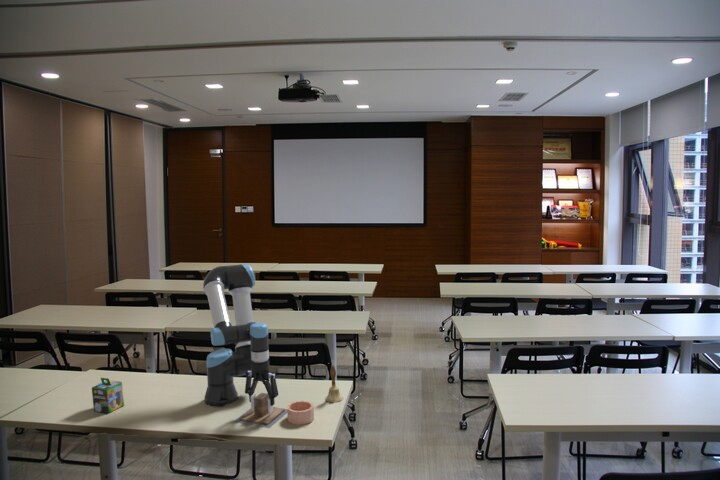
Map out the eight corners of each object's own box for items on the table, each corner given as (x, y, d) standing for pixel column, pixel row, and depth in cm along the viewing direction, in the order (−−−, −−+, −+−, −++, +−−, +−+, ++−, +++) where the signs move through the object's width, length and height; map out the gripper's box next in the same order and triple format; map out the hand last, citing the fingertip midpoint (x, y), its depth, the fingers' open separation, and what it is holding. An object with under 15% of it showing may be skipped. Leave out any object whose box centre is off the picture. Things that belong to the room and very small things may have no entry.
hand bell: (328, 404, 226) (328, 370, 225) (322, 397, 234) (322, 364, 232) (345, 400, 230) (345, 367, 228) (339, 394, 237) (338, 361, 236)
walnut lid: (239, 420, 211) (238, 400, 210) (257, 406, 224) (256, 387, 223) (267, 425, 206) (267, 404, 205) (284, 411, 219) (284, 391, 218)
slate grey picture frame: (232, 422, 210) (232, 421, 209) (256, 405, 226) (256, 404, 226) (269, 429, 203) (269, 428, 203) (290, 411, 220) (290, 409, 220)
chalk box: (124, 405, 229) (122, 374, 228) (108, 414, 221) (106, 382, 219) (109, 403, 232) (106, 372, 231) (92, 411, 224) (90, 379, 222)
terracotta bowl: (282, 423, 208) (282, 409, 208) (295, 412, 218) (294, 399, 218) (306, 427, 204) (306, 413, 204) (317, 416, 215) (317, 402, 214)
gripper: (234, 360, 212) (236, 411, 215) (276, 365, 205) (278, 418, 207) (244, 354, 219) (246, 404, 222) (285, 359, 212) (287, 410, 214)
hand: (262, 410), depth 214 cm, fingers open, 8 cm apart
